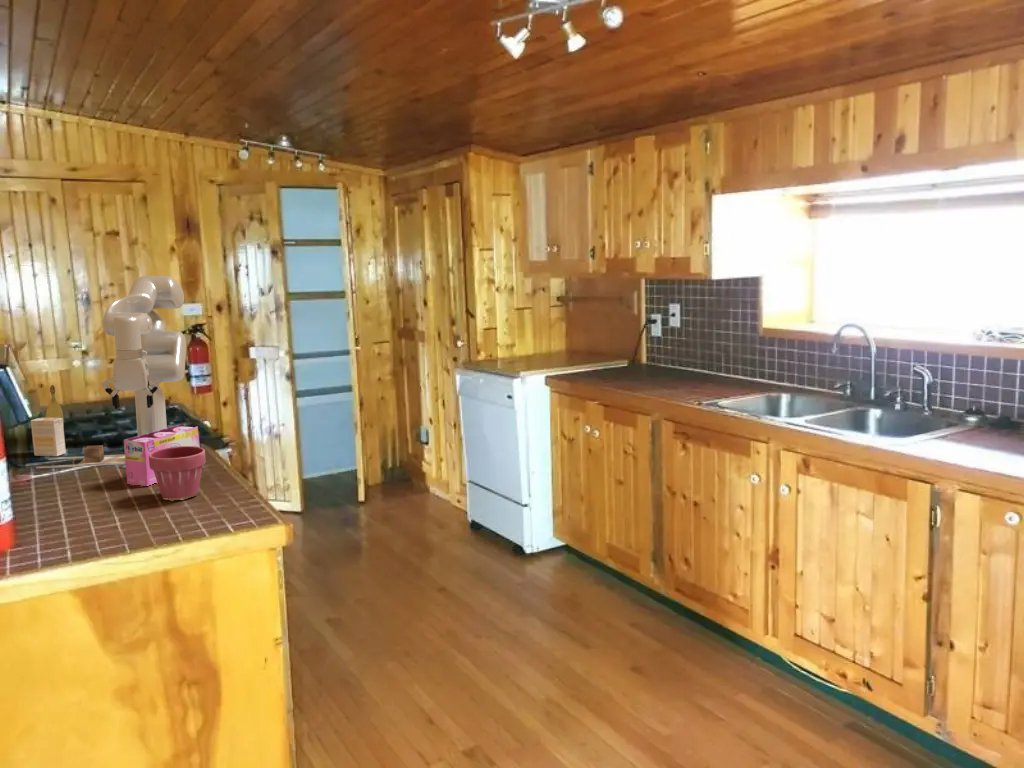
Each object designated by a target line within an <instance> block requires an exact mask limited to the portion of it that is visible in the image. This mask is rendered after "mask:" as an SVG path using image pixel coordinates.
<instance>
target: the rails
mask: <svg viewBox="0 0 1024 768" xmlns="http://www.w3.org/2000/svg"><path fill="white" fill-rule="evenodd" d="M121 456H125V453H124V454H123V453H122V454H108V455H107V454H104V457H121ZM70 459H71V460H73V459H84V455H82V456H63V457H61V456H60V457H58V456H57V457H49V458H48V459H47V460H50V461H52V460H70ZM113 465H116V466H117V465H121V466H120V468H119V469H123V468H124V469H126V463H125V462H118V463H98V464H79V463H77V464H59V465H58V464H57V465H41V466H40V465H39V466H36V467H35V469H53V468H72V467H73V468H75V467H92V466H93V467H94V466H113Z"/></svg>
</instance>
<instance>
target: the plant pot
mask: <svg viewBox="0 0 1024 768" xmlns="http://www.w3.org/2000/svg"><path fill="white" fill-rule="evenodd" d="M206 460H207V458H206V450H205V449H204V447H201V446H200V447H195V446H179V447H170V448H164V449H160V450H157V451H154V452H152V453H150V454H149V465H150V469H151V470H154V473H155V476H156V480H157V486H158V489H159V492H160V494H161V498H162V497H163V498H168V499H169V498H171V499H172V498H182V497H187V496H191V495H194V494H196V493H197V492H198V493H199V490H200V484H201V479H202V478H201V477H202V471H203V466H204V465H205V464H206ZM163 498H162V499H163Z"/></svg>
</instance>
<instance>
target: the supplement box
mask: <svg viewBox="0 0 1024 768" xmlns="http://www.w3.org/2000/svg"><path fill="white" fill-rule="evenodd" d="M30 427H31V436H32V446H33V447H32V448H33V454H34V456H37V457H38V456H41V457H58V456H61V455H64V454H67V453H66V452H67V450H66V441H65V431H64V428H63V419H62V418H46V417H38V418H35V419H30Z"/></svg>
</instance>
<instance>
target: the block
mask: <svg viewBox="0 0 1024 768" xmlns="http://www.w3.org/2000/svg"><path fill="white" fill-rule="evenodd" d="M104 455H105V453H104V445H103V444H102V445H87V446H86V447H85V448H83V456H84V458H83V460H85V463H98V462H101V461H102V460H104Z"/></svg>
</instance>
